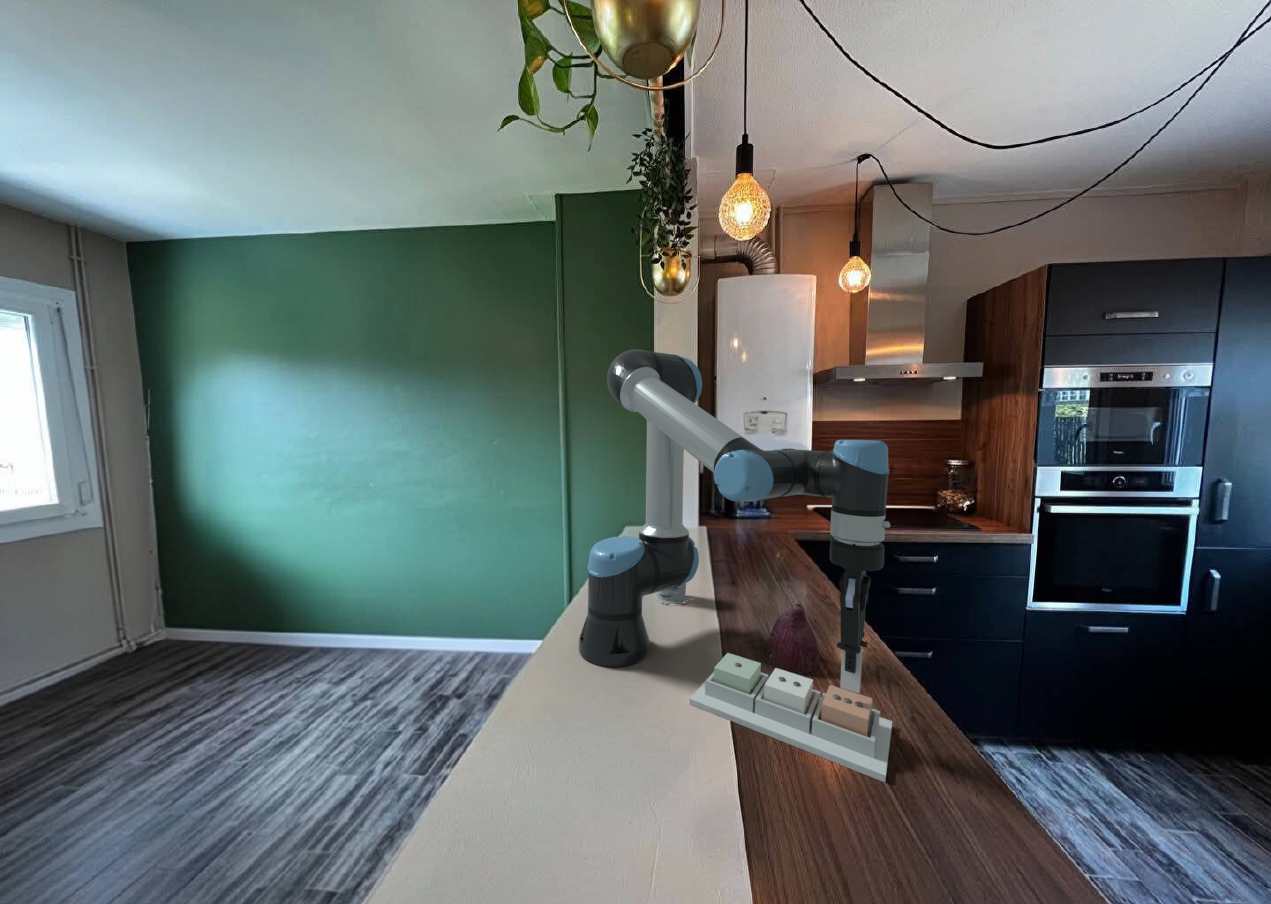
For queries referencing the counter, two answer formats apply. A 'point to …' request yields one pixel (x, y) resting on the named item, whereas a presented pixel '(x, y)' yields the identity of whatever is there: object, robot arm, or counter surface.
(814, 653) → the vegetable
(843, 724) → the key three
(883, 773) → the console
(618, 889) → the counter surface
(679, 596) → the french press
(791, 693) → the key two
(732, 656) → the key one
